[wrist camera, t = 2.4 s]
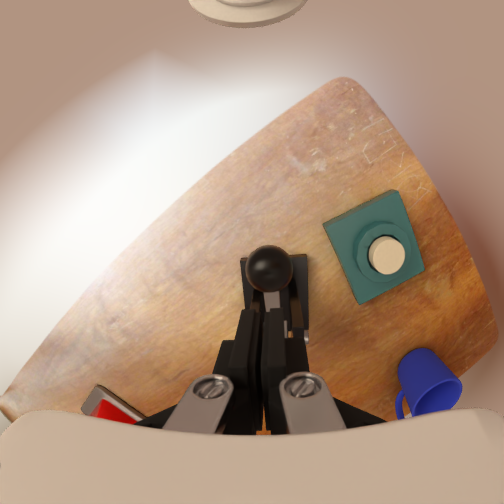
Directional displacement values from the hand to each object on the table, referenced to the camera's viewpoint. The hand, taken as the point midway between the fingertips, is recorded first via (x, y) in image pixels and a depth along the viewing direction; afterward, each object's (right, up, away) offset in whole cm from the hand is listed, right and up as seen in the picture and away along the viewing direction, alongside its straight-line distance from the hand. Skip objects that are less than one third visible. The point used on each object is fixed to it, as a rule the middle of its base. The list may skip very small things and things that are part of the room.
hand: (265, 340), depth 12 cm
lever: (+1, 0, +13) cm, 13 cm away
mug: (+25, -16, +28) cm, 41 cm away
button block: (+15, +4, +23) cm, 28 cm away
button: (+15, +3, +20) cm, 25 cm away
